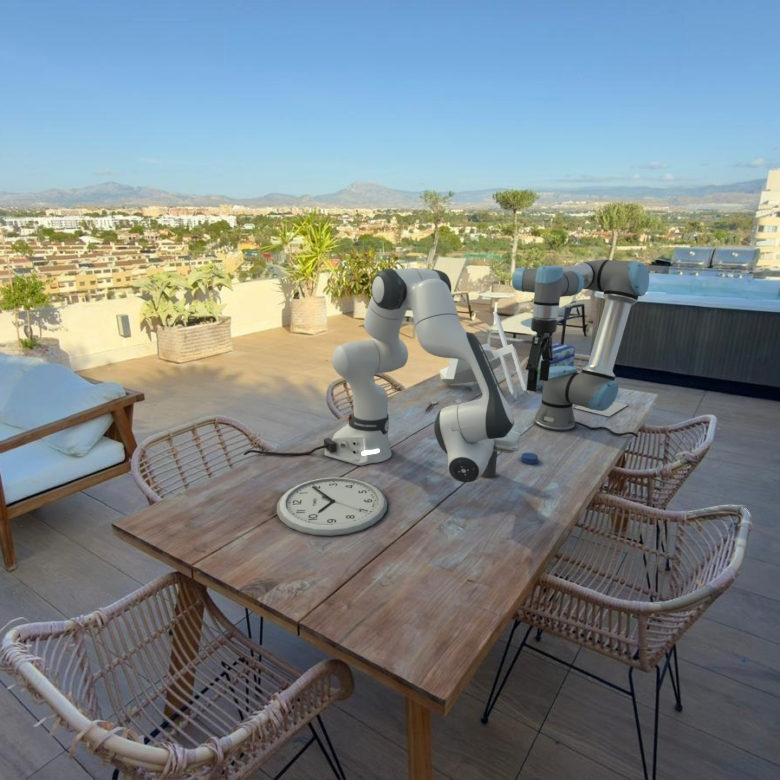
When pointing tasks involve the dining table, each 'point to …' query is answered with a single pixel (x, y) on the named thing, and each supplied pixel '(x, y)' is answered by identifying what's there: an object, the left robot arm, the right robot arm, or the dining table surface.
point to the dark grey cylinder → (491, 466)
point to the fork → (432, 403)
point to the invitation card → (608, 412)
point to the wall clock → (331, 506)
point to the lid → (529, 458)
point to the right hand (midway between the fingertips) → (537, 385)
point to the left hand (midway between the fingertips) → (485, 426)
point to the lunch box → (558, 359)
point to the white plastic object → (463, 372)
